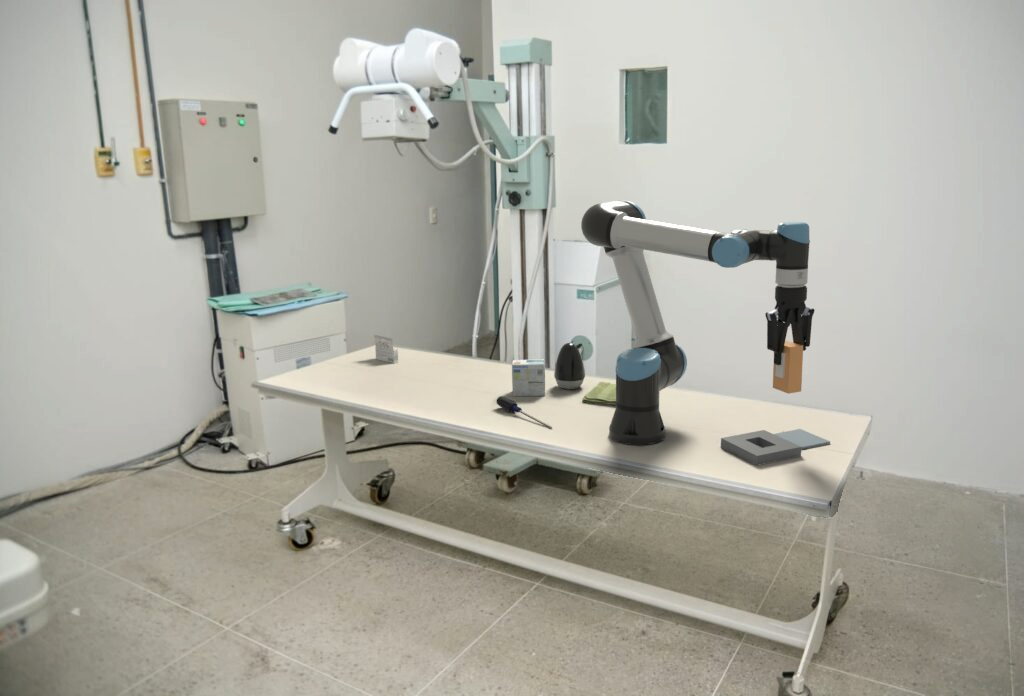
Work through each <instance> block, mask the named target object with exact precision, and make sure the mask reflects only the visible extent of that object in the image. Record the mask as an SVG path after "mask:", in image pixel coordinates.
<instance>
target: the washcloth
mask: <svg viewBox="0 0 1024 696" xmlns="http://www.w3.org/2000/svg"><path fill="white" fill-rule="evenodd" d="M582 402H584V403H587V404H589V403H590V404H597V405H598V404H599V405H611V406H612V405H613V406H616V383H611V382H605V381H598V383H597V384H596V385H594V387H592V389H591V390H589V391H588V392H586V393H585V394H584V396H583V397H582Z"/></svg>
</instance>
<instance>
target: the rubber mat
mask: <svg viewBox="0 0 1024 696" xmlns="http://www.w3.org/2000/svg"><path fill="white" fill-rule="evenodd" d="M773 434H774V435H776V436H779V437H781V438H783V439H785V440H788V441H790V442H792V443H794V444H796V445H799V446H801V447H802V448H801V450H805V449H810V448H815V447H820V446H824V445H825V444H826V445H829V444H831V441H830V440H828V439H825V438H824V437H820V436H818V435H816V434H813V433H811V432H809V431H806V430H803V429H802V428H797V429H793V430H787V431H781V432H777V433H773Z"/></svg>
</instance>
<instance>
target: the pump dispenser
mask: <svg viewBox="0 0 1024 696" xmlns="http://www.w3.org/2000/svg"><path fill="white" fill-rule="evenodd" d="M581 347H583V344H582V342H580V343H578V344H575V343H572V342H566V343H564V344H563V345H562V347H561V348H560V350H559V352H558V354H557V358H556V361H555V365H554V373H553V376H554V379H555V382H556V384H557V385H558V386H559V387H560V388H562V389H563V390H575V389H578V388H579V387H581V386H582V384H583V383H584V380H585V378H586V371H585V364H584V361H583V357H582V354H581V351H580V350H579V349H580V348H581Z"/></svg>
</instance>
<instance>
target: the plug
mask: <svg viewBox="0 0 1024 696" xmlns="http://www.w3.org/2000/svg"><path fill="white" fill-rule="evenodd" d="M778 348H779V347H778ZM783 352H784V353H785V376H784V378H780V377H777V376H775V367H776V364H774V363H773V371H772V373H773V375H772V388H773V389H776V390H778V391H781V392H783V393H786V394H795V393H800V392H802V381H803V361H804V351H803V345H800V344H796V343H793V342H792V341H789V340H785V344H784V349H783Z"/></svg>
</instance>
